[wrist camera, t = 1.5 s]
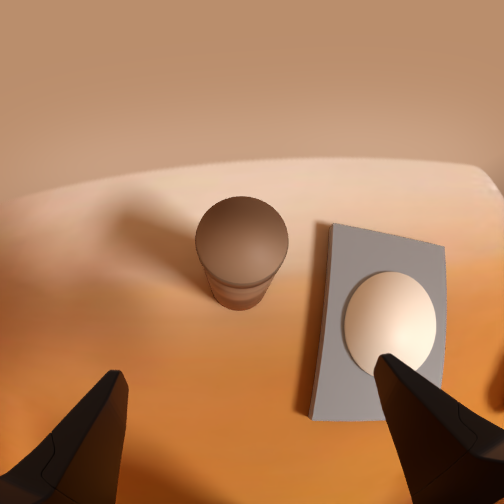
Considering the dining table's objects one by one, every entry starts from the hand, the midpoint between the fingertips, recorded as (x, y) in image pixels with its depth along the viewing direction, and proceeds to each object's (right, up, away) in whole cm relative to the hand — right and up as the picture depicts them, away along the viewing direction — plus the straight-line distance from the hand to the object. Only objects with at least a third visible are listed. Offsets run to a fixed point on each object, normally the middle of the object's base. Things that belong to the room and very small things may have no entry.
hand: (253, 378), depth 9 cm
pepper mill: (-1, +2, +15) cm, 15 cm away
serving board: (+11, -2, +14) cm, 18 cm away
